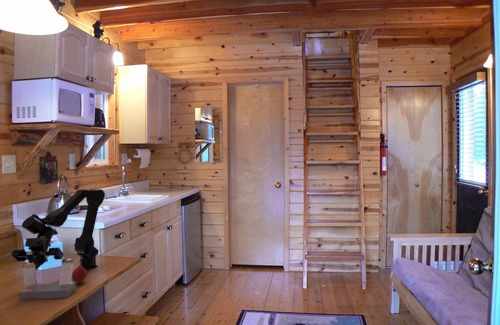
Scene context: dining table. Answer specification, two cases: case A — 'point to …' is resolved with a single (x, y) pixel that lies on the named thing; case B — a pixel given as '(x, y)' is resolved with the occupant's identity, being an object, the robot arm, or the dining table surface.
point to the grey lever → (66, 271)
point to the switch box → (47, 291)
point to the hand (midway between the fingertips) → (30, 273)
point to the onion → (79, 274)
